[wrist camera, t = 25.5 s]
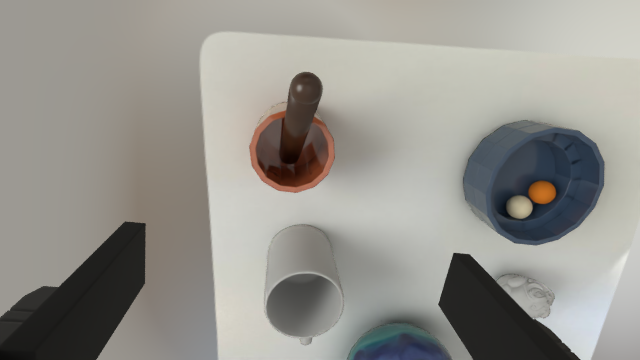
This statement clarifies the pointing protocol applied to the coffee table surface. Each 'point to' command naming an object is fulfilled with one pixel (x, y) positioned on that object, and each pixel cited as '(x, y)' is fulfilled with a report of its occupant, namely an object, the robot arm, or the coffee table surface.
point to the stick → (299, 115)
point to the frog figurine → (528, 294)
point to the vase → (398, 344)
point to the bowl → (534, 179)
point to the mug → (302, 284)
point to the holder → (311, 160)
